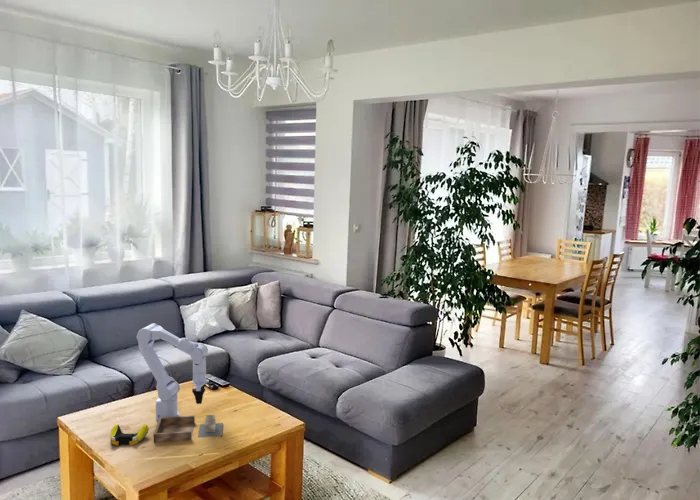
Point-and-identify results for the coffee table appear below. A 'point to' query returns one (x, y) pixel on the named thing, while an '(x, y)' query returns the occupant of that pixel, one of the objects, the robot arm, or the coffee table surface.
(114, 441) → the gaming controller
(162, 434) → the crate
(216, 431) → the mat
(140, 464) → the coffee table surface
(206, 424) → the block
